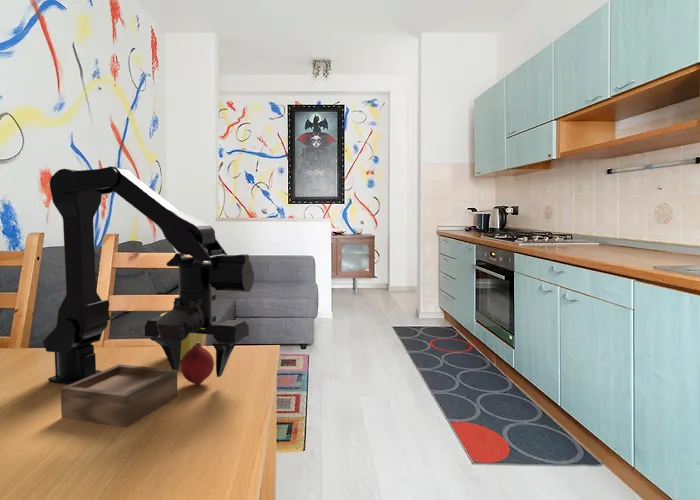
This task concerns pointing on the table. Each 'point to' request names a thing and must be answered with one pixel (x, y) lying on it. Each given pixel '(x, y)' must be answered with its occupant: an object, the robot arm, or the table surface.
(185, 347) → the plant pot
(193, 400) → the table surface
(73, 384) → the walnut base
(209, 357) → the onion
